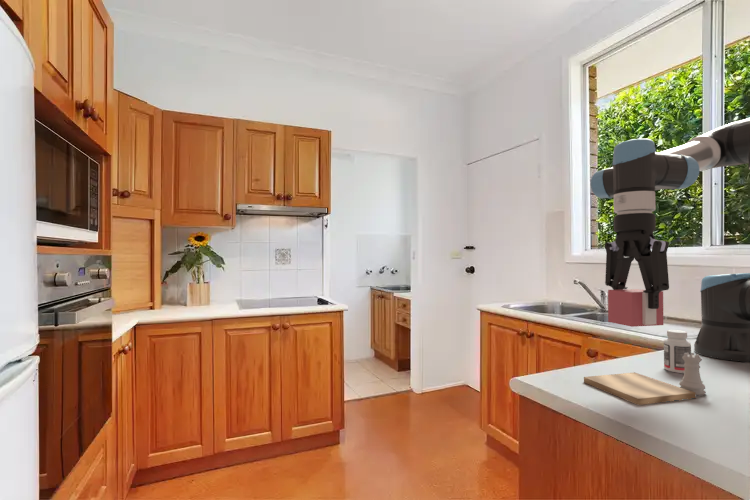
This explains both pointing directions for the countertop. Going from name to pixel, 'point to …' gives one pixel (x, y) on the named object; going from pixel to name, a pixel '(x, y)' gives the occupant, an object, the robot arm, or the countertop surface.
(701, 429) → the countertop surface
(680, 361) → the pill bottle
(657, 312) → the brick
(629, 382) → the base plate
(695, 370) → the rook chess piece
